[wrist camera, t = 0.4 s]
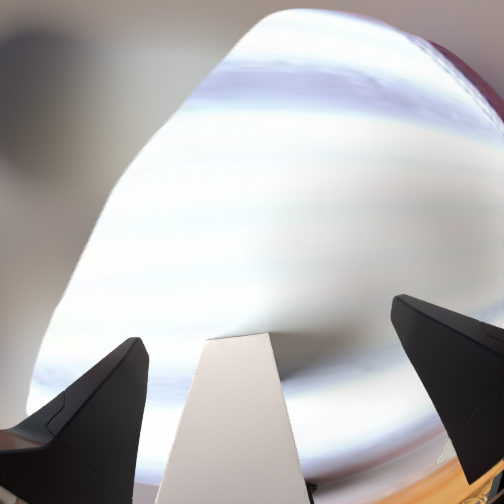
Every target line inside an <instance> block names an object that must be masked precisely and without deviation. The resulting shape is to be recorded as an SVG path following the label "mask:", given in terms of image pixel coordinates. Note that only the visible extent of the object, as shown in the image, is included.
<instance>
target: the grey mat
mask: <svg viewBox="0 0 504 504" xmlns="http://www.w3.org/2000/svg"><path fill="white" fill-rule="evenodd" d="M454 455H456V452H455V449H454V447H453V445H452V443H451V440H450V438H448V441H447V443H446V445H445V447H444V449H443V451H442V453H441V455H440V457H439V459H438V461H437V463H436V464H437V465H438V464H440V463H442V462H443V461H445V460H447V459H449V458H451V457H453V456H454Z"/></svg>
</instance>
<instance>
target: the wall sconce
mask: <svg viewBox="0 0 504 504" xmlns="http://www.w3.org/2000/svg"><path fill="white" fill-rule="evenodd" d="M482 497H483V499H484V500H482V499H481V498H479V497H472V498H469V499H466V500H465V501H463V502H462V503H460V504H463V503H465V502H467V501H469V500H473V499H476V500H479V501H480V502H481V503H480V504H486V503H485V502H487V498H486V497H485V495H484V494H482Z"/></svg>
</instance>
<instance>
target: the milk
mask: <svg viewBox="0 0 504 504" xmlns="http://www.w3.org/2000/svg"><path fill="white" fill-rule="evenodd" d="M155 504H310V501H309V497H308V493H307V489H306V485H305V481H304V477H303V473H302V469H301V465H300V461H299V457H298V452H297V448H296V444H295V440H294V436H293V432H292V428H291V424H290V420H289V416H288V412H287V407H286V403H285V399H284V395H283V391H282V387H281V383H280V379H279V375H278V370H277V366H276V362H275V358H274V354H273V350H272V346H271V341H270V337H269V334H268V333H263V334H255V335H248V336H240V337H231V338H223V339H213V340H206V341H205V343H204V346H203V349H202V352H201V355H200V358H199V361H198V364H197V367H196V370H195V373H194V377H193V380H192V383H191V386H190V389H189V392H188V395H187V399H186V402H185V405H184V408H183V411H182V414H181V418H180V421H179V424H178V427H177V430H176V434H175V437H174V440H173V443H172V447H171V450H170V453H169V457H168V460H167V463H166V467H165V470H164V473H163V477H162V480H161V483H160V487H159V491H158V494H157V497H156V501H155Z"/></svg>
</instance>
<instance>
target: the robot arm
mask: <svg viewBox="0 0 504 504" xmlns="http://www.w3.org/2000/svg"><path fill="white" fill-rule="evenodd" d="M391 322H392V324H393V326H394V328H395V330H396V332H397V335H398V337H399V339H400V341H401V344H402V346H403V348H404V350H405V352H406V354H407V356H408V358H409V360H410V362H411V363H412V365H413V367H414V369H415V370H416V372H417V374H418V376H419V378H420V380H421V381H422V383H423V385H424V387H425V389H426V391H427V393H428V395H429V397H430V399H431V400H432V402H433V404H434V406H435V408H436V410H437V412H438V414H439V416H440V419H441V421H442V423H443V425H444V427H445V429H446V431H447V433H448V436H449V438H450V440H451V443H452V445H453V447H454V449H455V452H456V454H457V456H458V459H459V461H460V464H461V466H462V469H463V471H464V474H465V476H466V479H467V481H468V483H469V485H471V484H472V483H474V482H475V481H477V480H478V479H479V478H481V477H482V476H483V475H485V474H486V473H487V472H488V471H490V470H491V469H492V468H493V467H495V466H496V465H497V464H498V463H499V462H500V461H502V460H503V461H504V329H502V328H499V327H496V326H493V325H490V324H487V323H484V322H482V321H481V322H480V321H479V320H476V319H473V318H470V317H468V316H465V315H462V314H459V313H456V312H454V311H451V310H448V309H445V308H442V307H439V306H437V305H434V304H431V303H428V302H425V301H422V300H419V299H417V298H414V297H411V296H408V295H405V294H402V295H398V296H395V297H394V298H393V303H392V309H391ZM148 369H149V355H148V353H147V350H146V348H145V346H144V344H143V342H142V340H141V338H139V337H131V338H128V339H127V340H126V341H124V342H123V343H122V344H121V345H119V346H118V347H117V348H116V349H114V350H113V351H112V352H111V353H109V354H108V355H107V356H106V357H104V358H103V359H102V360H101V361H99V362H98V363H97V364H96V365H95V366H93V367H92V368H91V369H90V370H88V371H87V372H86V373H85V374H83V375H82V376H81V377H80V378H79V379H77V380H76V381H75V382H74V383H72V384H71V385H70V386H69V387H68V388H66V389H65V391H63V392H61V393H60V394H59V395H58V396H57V397H55V398H54V399H53V400H51V401H50V402H49V403H48V404H46V405H45V406H43V407H42V408H41V409H39V410H38V411H36V412H35V413H34V414H32V415H31V416H29V417H28V418H26V419H25V420H23V421H22V422H20V423H19V424H18V425H16V426H14V427H12V428H10V429H4V430H0V504H132V497H133V486H134V477H135V468H136V460H137V452H138V445H139V438H140V431H141V425H142V419H143V413H144V407H145V402H146V395H147V382H148ZM305 485H306V489H307V493H308V497H309V501H310V504H314V500H313V497H312V493H313V492H314V491H316V490H317V489H318V487H317V485H309V484H305ZM486 504H504V469H503V470H502V471H501V472H500V473H499V474H498V475H496V476H495V477H494V480H493V483H492V486H491V490H490V493H489V496H488V499H487V502H486Z"/></svg>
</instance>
